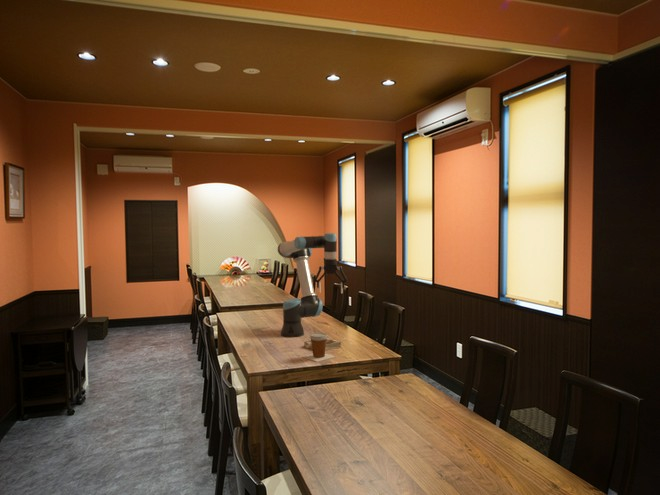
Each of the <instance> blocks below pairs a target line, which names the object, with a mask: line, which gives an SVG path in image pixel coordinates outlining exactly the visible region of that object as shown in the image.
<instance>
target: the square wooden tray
mask: <svg viewBox="0 0 660 495" xmlns="http://www.w3.org/2000/svg"><path fill="white" fill-rule="evenodd" d="M303 342H304V346H303V347H304V348H307V349H311V350H312V344H311V339H310V340H305V341H303ZM341 343H342V342H341V341H339V340H335V339H332V338H329V337H327V339H326V348H325V352H326V351H330V350H333V349H338V348H341V346H342V344H341Z"/></svg>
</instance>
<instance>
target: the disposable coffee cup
mask: <svg viewBox="0 0 660 495" xmlns="http://www.w3.org/2000/svg"><path fill="white" fill-rule="evenodd" d="M309 338H310V340H311V344H312V349H311V351H312V354H313V357H315V358H322V357H324V356H325V353H326V351H325V348H326V345H327V344H326V339H327V338H328V336H327V333H324V332H315V333H311V334H310V337H309Z"/></svg>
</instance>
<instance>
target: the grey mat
mask: <svg viewBox="0 0 660 495" xmlns="http://www.w3.org/2000/svg"><path fill="white" fill-rule="evenodd" d="M334 357H335V358H336V356H335V355H333V354H330V353H329V354H328V353H326V352H325V356H324V357H322V358H315V357H313V353H311V354H307V355H302V358H304V359H307V360H311V361H313V362H315V363H318V362H319V363H320V362H324V361H327V360H331V359H335V358H334ZM330 358H331V359H330Z"/></svg>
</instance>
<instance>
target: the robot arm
mask: <svg viewBox="0 0 660 495" xmlns="http://www.w3.org/2000/svg"><path fill="white" fill-rule="evenodd" d="M337 241H338V240H337V233H333V232H331V233H329V232H327V233H324V235H314V236H313V235H312V236H302V235H301V236H296V237H295V238H294V239H293V240H289V241H288V240H287V241H282V242H281V243H279V245H278V246H277V253H278V255H280V257H282V258H284V259H293V262H294V263H295V265H296V270H297V276H298V282H299V285H300V291H301V297H300V298H299V297H295V298H288V299H286V300H284V301H283V302H282V317H283V320H282V321H283V323H282V328H281V331H280V336H281V337H285V338H299V337H301V336H304V335H305V330H304V327H303V324H302V319H303V318H310V317H312V318H313V317H318V316H321V315H322V312H323V300H322V299H321V298H319V297H318V294H322V293H321V292H322V291H321V285H322V284H321V280H322V279H323V278H324V276H326V274H328V275H335V276H336V277H337V278H338V279H339V280H340V294H343V293H344V292H343V291H344V290H343V289H344V288H345V284H346V282H348V278H347V276H346V275H345V272H344V271H343V266H341V265H340V266H338V264H337V263H338V262H337V261H338V260H337V255H338V254H337V251H338V250H337V245H338V244H337V243H338V242H337ZM312 249H323V251H324V252H323V253H324V256H323V257H324V261H323V262H324V264H323V265H324V266H319V267H318V271H317V273H316V276H315V277H314V280H313V278H312V273H311V269H310V263H309V260H310V259H311V256H312V253H313V252H312ZM323 270H324V272H323V273H322V274H321V272H322V271H323ZM337 270H338V271H340V273H341V275H340V274H339V273H338V271H337ZM320 274H321V275H320ZM313 281H314V282H315V283H316V288H317V289H318V294H316V293H315V289H314V285H313V284H314V282H313Z"/></svg>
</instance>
